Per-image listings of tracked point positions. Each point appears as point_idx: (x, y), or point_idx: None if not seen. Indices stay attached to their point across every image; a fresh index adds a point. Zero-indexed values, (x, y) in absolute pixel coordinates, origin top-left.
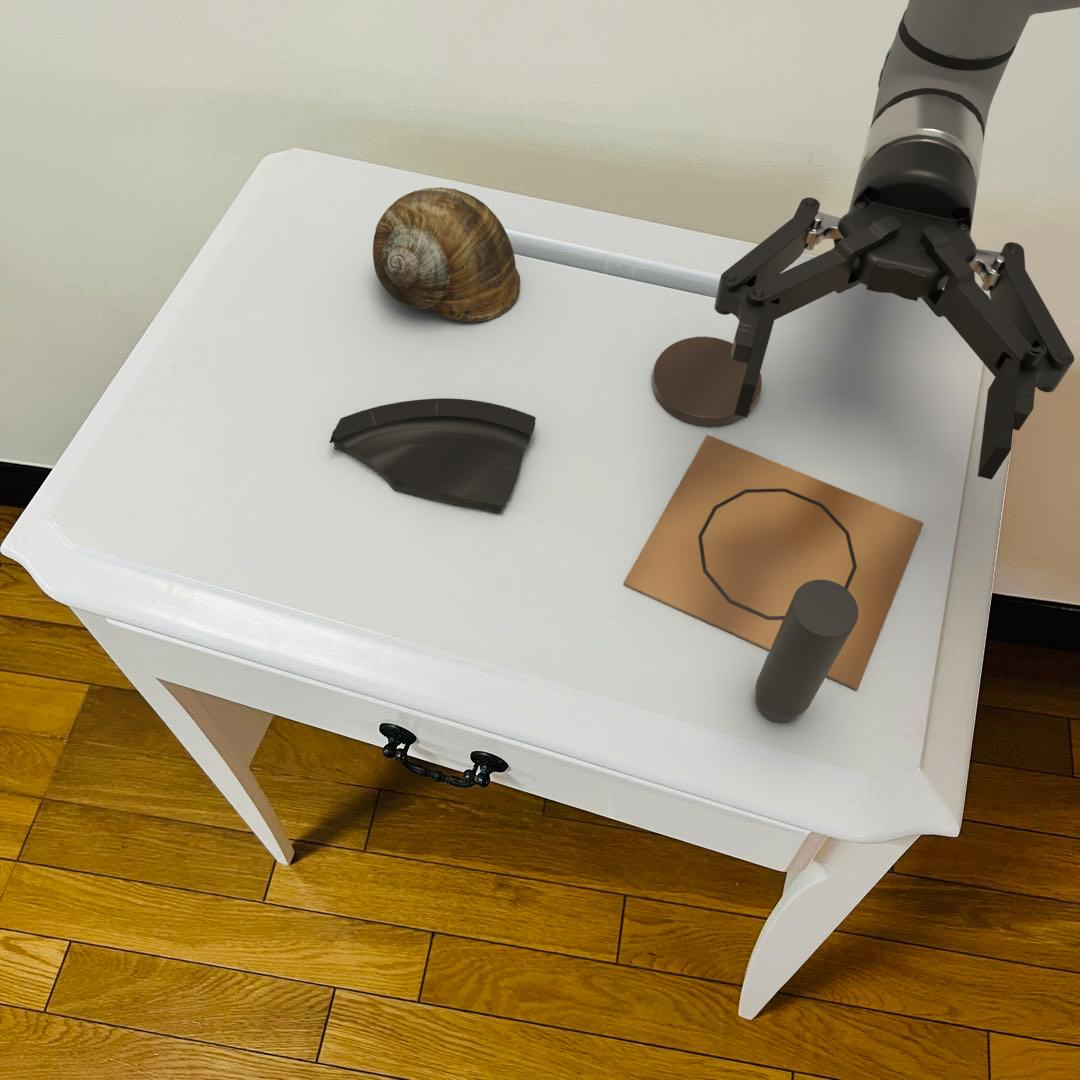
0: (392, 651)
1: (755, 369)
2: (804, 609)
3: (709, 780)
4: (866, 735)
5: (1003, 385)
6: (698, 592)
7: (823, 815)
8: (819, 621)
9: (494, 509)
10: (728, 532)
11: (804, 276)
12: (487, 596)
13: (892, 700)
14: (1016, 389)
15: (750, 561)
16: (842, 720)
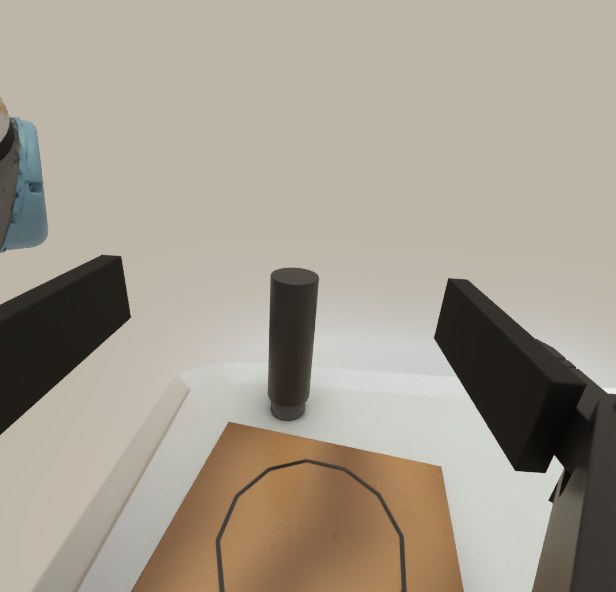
0: None
1: (467, 291)
2: (309, 274)
3: (321, 368)
4: (224, 400)
5: (35, 303)
6: (374, 471)
7: (254, 363)
8: (297, 271)
9: None
10: (373, 553)
11: (607, 516)
12: None
13: (200, 423)
14: (13, 298)
15: (337, 518)
16: (241, 405)
